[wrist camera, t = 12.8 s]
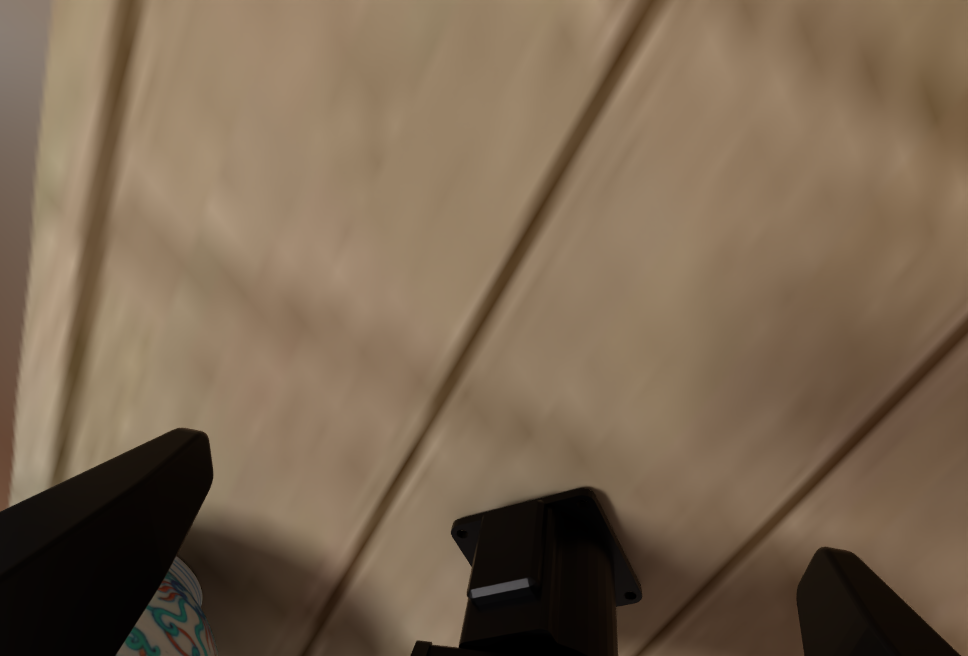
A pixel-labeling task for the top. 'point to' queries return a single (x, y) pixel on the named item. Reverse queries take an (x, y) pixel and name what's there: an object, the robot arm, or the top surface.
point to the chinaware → (173, 620)
